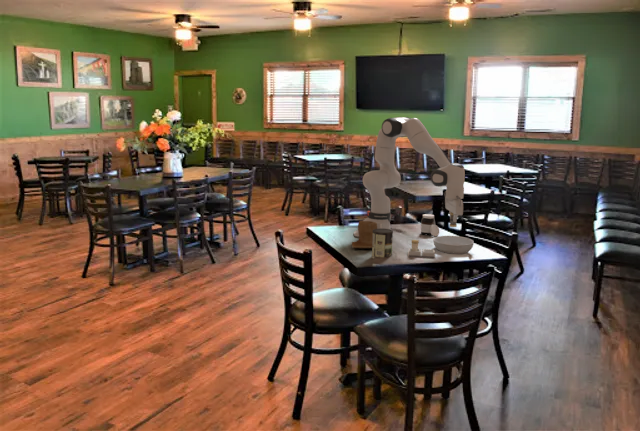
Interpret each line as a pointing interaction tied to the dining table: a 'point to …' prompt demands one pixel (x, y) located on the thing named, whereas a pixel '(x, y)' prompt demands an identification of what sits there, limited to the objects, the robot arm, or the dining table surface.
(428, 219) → the spread jar
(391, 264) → the dining table surface
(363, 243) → the wooden napkin holder
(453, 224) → the fuse
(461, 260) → the dining table surface
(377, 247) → the coffee can
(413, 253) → the fuse block
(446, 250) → the serving bowl
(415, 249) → the fuse
